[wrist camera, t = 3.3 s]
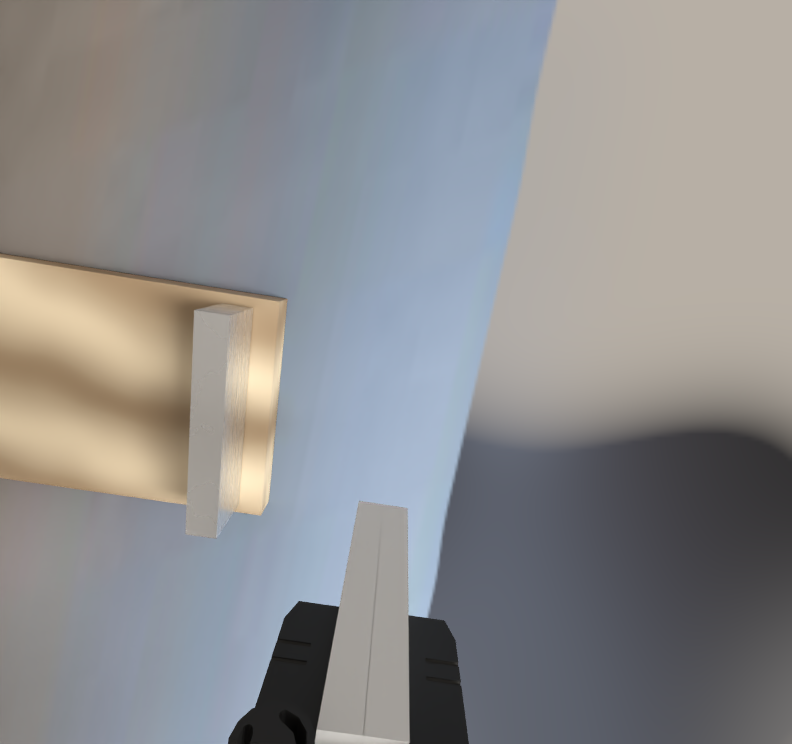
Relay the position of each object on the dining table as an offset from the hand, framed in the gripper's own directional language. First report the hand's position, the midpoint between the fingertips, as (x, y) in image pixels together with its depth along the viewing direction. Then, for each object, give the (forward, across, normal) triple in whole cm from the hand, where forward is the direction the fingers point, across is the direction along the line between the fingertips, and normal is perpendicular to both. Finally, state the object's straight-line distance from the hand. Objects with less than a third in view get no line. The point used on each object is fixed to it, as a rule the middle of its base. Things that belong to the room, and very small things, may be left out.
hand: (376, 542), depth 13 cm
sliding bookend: (+10, +8, +1) cm, 13 cm away
